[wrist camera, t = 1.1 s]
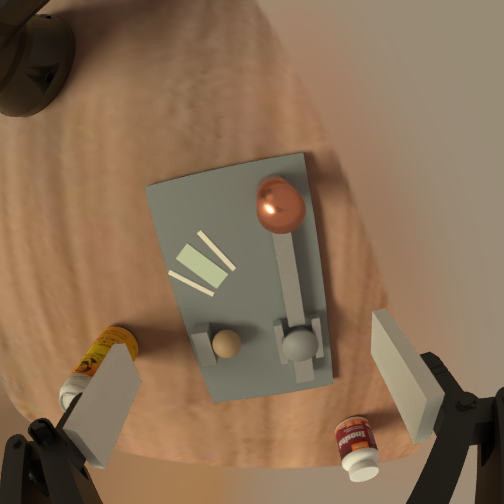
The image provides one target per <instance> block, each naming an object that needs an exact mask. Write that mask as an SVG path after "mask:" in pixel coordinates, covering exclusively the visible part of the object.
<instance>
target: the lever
mask: <svg viewBox="0 0 504 504" xmlns="http://www.w3.org/2000/svg"><path fill="white" fill-rule="evenodd" d="M256 212H257V217H258V220H259V222H260V223H261V225H262V226H263V227H264V228H265V229H266V230H268V231H270V232H272V237H273V242H274V247H275V253H276V258H277V264H278V269H279V274H280V280H281V285H282V291H283V296H284V302H285V308H286V313H287V319H288V325H289V327H294V326H299V325H304V324H305V318H304V312H303V305H302V298H301V292H300V285H299V279H298V273H297V266H296V260H295V254H294V248H293V242H292V236H291V232H292V231H294V230H295V229H297V228H298V227H299V226H300V225H301V223H302V222H303V220H304V217H305V213H306V206H305V202H304V199H303V198H302V196H301V195H300V194H299V192H298V191H297V190H296V189H295V188H293V187H292V186H291V185H290V184H289V183H288V182H287V181H286V180H285V179H284V178H283V177H281V176H279V175H275V174H272V175H267V176H265V177H263V178H262V179H261V180H260V181H259V183H258V185H257V189H256ZM310 319H311V326H312V332H313V333H314V334H315V335H316V337H317V340H318V343H319V348H318V351H317V353H316V354H315V355H316V358H320V357H324V353H323V344H322V334H321V326H320V318H319V315H318V313H316V314H311V315H310ZM273 327H274V332H275V337H276V342H277V347H278V352H279V357H280V362H281V365H282V364H288V363H289V361H288V358H287V357H286V356H285V355H284V353H283V348H282V343H283V340H284V333H283V328H282V322H281V320H279V321H273ZM293 363H294V369H295V375H296V381H297V383H301V382H307V381H312V380H314V372H313V364H312V358H310V359H308V360H306V361H301V362H296V361H293Z"/></svg>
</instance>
